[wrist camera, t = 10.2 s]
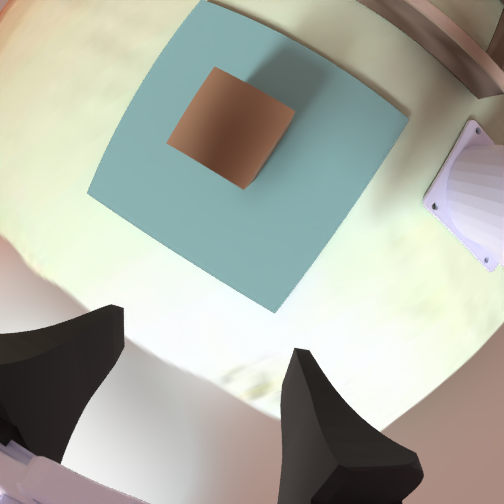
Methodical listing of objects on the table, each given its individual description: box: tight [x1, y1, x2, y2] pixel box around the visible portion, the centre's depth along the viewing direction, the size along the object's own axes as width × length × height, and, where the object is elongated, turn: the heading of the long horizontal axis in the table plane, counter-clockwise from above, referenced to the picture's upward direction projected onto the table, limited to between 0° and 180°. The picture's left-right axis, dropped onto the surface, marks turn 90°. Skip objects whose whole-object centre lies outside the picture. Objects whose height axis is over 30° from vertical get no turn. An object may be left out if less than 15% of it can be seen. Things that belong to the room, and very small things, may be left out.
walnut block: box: [166, 66, 295, 190], centre depth 15 cm, size 4×4×6 cm
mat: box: [87, 0, 409, 313], centre depth 18 cm, size 16×16×1 cm
